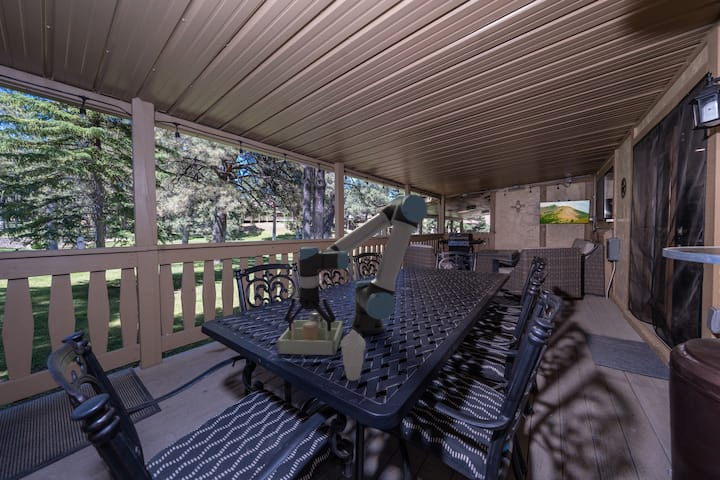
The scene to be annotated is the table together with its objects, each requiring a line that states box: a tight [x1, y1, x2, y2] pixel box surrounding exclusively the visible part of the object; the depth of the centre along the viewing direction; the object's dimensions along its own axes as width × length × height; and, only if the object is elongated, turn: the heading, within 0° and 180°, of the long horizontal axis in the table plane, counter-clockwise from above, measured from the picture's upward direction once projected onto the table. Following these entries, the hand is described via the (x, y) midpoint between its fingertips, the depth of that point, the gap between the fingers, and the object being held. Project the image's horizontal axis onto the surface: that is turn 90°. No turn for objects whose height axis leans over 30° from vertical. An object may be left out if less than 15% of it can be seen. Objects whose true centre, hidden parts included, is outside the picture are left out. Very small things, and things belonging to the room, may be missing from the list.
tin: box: [308, 310, 324, 328], centre depth 118 cm, size 6×6×10 cm
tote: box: [276, 319, 344, 356], centre depth 112 cm, size 22×22×6 cm
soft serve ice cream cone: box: [339, 329, 367, 382], centre depth 87 cm, size 8×8×16 cm
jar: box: [302, 322, 318, 340], centre depth 108 cm, size 6×6×9 cm
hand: (310, 338), depth 108 cm, fingers open, 13 cm apart
